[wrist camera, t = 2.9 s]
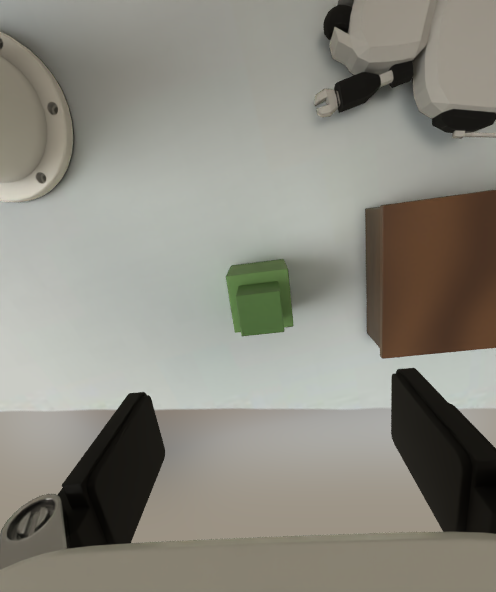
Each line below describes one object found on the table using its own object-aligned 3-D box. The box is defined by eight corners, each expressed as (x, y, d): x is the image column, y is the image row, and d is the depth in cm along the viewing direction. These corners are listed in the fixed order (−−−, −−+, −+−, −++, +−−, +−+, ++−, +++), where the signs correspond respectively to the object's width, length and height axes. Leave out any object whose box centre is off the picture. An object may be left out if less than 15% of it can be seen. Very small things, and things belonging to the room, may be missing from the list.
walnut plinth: (363, 336, 29) (382, 358, 24) (361, 205, 25) (382, 205, 21) (496, 322, 28) (539, 343, 23) (514, 184, 24) (570, 179, 20)
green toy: (238, 314, 28) (231, 348, 22) (230, 265, 27) (221, 285, 20) (288, 308, 28) (297, 341, 21) (283, 258, 27) (291, 276, 20)
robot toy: (305, 132, 24) (491, 150, 23) (310, 116, 20) (540, 137, 19) (334, -59, 20) (558, -49, 19) (348, -130, 16) (637, -123, 15)
